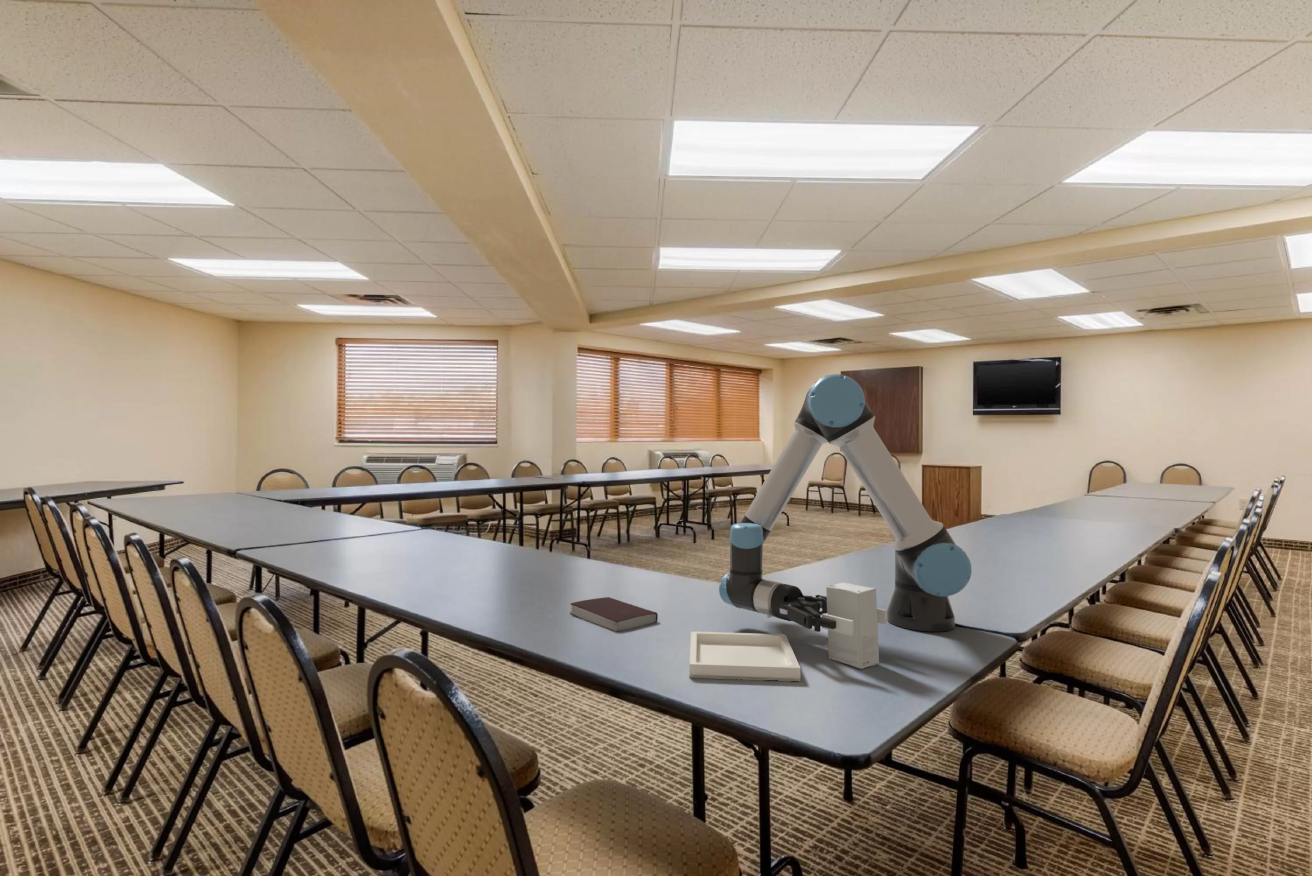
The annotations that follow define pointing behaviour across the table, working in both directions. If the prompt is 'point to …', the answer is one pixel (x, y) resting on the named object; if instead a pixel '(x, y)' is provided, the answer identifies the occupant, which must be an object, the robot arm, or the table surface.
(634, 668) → the table surface
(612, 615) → the book
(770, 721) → the table surface
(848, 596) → the skincare box
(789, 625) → the table surface
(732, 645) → the tray
